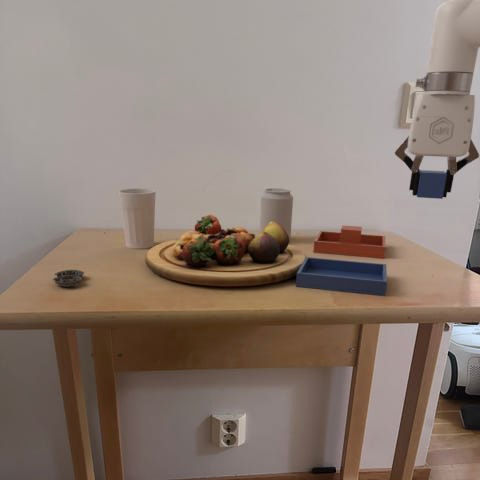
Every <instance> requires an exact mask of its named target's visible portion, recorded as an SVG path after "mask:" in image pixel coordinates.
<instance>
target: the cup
mask: <svg viewBox="0 0 480 480" xmlns="http://www.w3.org/2000/svg"><path fill="white" fill-rule="evenodd" d="M117 193H118V199H119V206H120V213H121V219H122V226H123V227H122V228H123V233H124V240H125V247H126V248H128V249H134V250H135V249H136V250H141V249H142V250H143V249H151V248H152V247H154V246H155V219H156V218H155V214H156V190H155V189H150V188H125V189H119V190H118V192H117Z"/></svg>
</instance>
